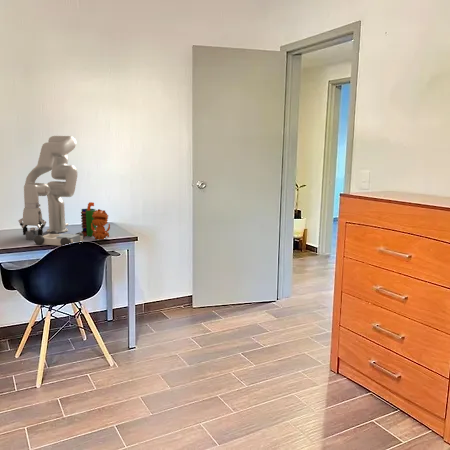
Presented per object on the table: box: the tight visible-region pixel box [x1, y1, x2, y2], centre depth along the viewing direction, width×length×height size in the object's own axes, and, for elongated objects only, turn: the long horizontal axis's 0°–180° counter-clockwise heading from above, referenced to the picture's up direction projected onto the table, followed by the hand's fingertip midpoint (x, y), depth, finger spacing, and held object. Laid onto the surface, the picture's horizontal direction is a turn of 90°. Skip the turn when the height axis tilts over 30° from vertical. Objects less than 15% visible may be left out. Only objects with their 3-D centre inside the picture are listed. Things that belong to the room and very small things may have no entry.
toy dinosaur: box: [91, 209, 111, 240], centre depth 262 cm, size 11×11×18 cm
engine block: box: [25, 227, 38, 241], centre depth 259 cm, size 7×5×6 cm
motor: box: [80, 201, 97, 237], centre depth 272 cm, size 10×9×20 cm
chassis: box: [33, 231, 85, 247], centre depth 250 cm, size 16×22×5 cm
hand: (32, 235), depth 258 cm, fingers open, 9 cm apart
